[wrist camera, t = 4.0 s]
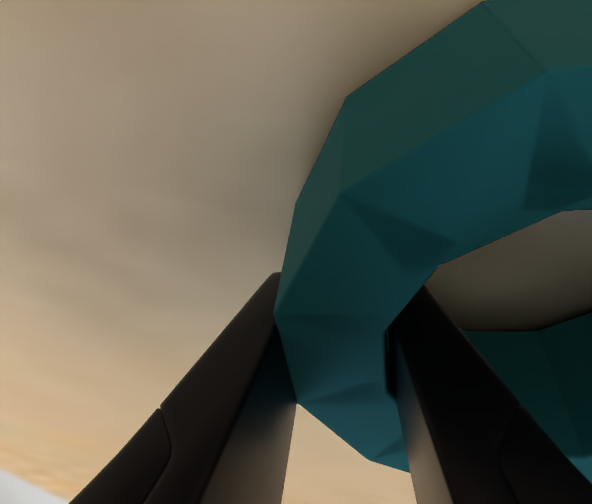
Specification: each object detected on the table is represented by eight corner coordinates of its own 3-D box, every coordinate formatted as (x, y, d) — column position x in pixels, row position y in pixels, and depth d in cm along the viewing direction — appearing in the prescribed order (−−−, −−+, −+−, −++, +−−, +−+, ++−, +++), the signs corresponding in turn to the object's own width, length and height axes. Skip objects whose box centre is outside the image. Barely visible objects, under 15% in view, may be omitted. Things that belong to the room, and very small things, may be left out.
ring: (686, 372, 11) (775, 508, 8) (325, 371, 12) (316, 485, 10) (964, -66, 5) (1408, -23, 3) (265, 29, 7) (218, 104, 5)
